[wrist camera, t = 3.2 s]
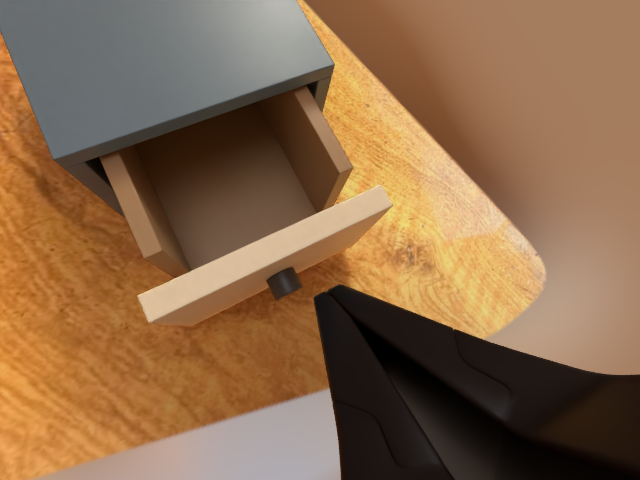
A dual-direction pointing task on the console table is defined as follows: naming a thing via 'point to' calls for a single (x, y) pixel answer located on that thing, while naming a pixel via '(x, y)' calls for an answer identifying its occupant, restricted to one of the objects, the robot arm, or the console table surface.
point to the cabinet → (152, 68)
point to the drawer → (239, 205)
